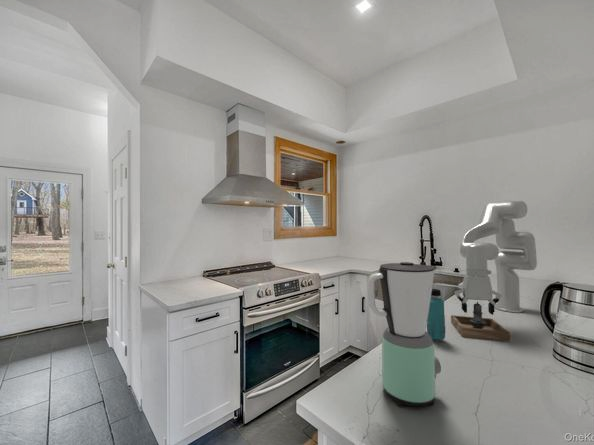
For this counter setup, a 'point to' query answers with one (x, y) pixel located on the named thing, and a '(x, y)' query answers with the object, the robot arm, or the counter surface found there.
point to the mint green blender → (406, 332)
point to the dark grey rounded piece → (477, 317)
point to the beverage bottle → (436, 317)
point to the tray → (488, 332)
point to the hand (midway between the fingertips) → (477, 312)
